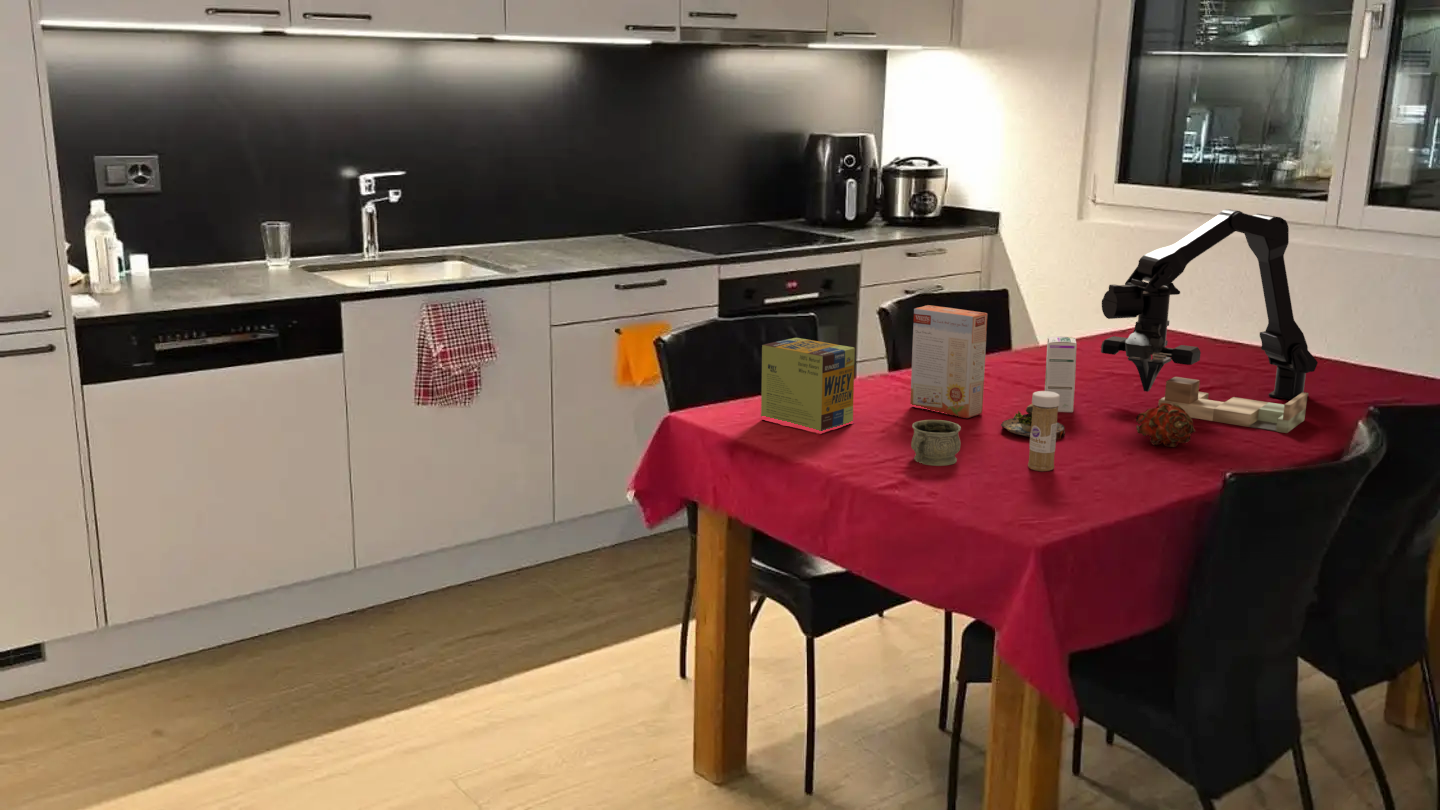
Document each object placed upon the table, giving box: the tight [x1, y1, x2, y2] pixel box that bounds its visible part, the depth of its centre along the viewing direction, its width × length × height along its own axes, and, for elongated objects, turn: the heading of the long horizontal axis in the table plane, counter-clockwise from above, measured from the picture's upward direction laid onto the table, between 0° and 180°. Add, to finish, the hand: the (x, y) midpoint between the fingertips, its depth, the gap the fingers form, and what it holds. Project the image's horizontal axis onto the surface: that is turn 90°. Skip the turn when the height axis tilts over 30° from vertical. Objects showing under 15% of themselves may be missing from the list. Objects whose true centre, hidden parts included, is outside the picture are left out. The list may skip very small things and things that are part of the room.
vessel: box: [910, 419, 962, 467], centre depth 228 cm, size 12×9×6 cm
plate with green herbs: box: [1000, 403, 1066, 441], centre depth 244 cm, size 12×12×8 cm
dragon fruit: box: [1135, 402, 1197, 448], centre depth 237 cm, size 8×8×12 cm
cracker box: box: [909, 304, 988, 419], centre depth 258 cm, size 14×6×21 cm, turn 47°
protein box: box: [760, 337, 856, 431], centre depth 250 cm, size 10×15×16 cm
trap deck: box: [1157, 391, 1309, 434], centre depth 256 cm, size 12×25×6 cm, turn 51°
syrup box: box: [1044, 336, 1078, 413], centre depth 261 cm, size 6×6×14 cm
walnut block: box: [1164, 376, 1201, 404], centre depth 259 cm, size 5×5×4 cm
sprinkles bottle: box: [1027, 390, 1060, 472], centre depth 222 cm, size 5×5×13 cm
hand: (1146, 391), depth 264 cm, fingers closed
